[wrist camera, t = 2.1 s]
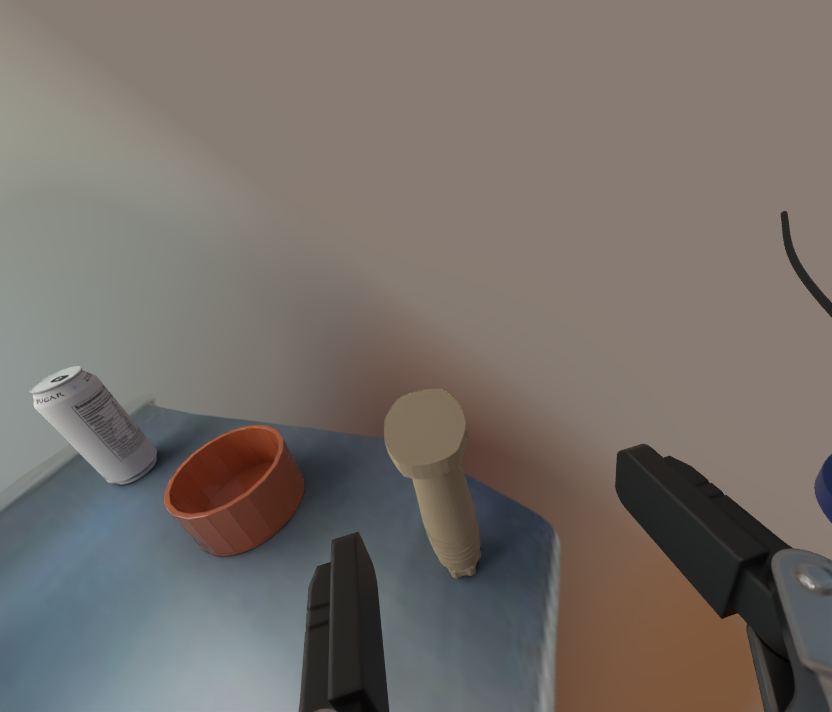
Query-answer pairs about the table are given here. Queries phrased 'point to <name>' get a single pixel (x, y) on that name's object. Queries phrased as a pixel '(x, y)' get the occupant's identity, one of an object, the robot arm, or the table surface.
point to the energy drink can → (94, 424)
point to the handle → (437, 473)
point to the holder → (236, 490)
